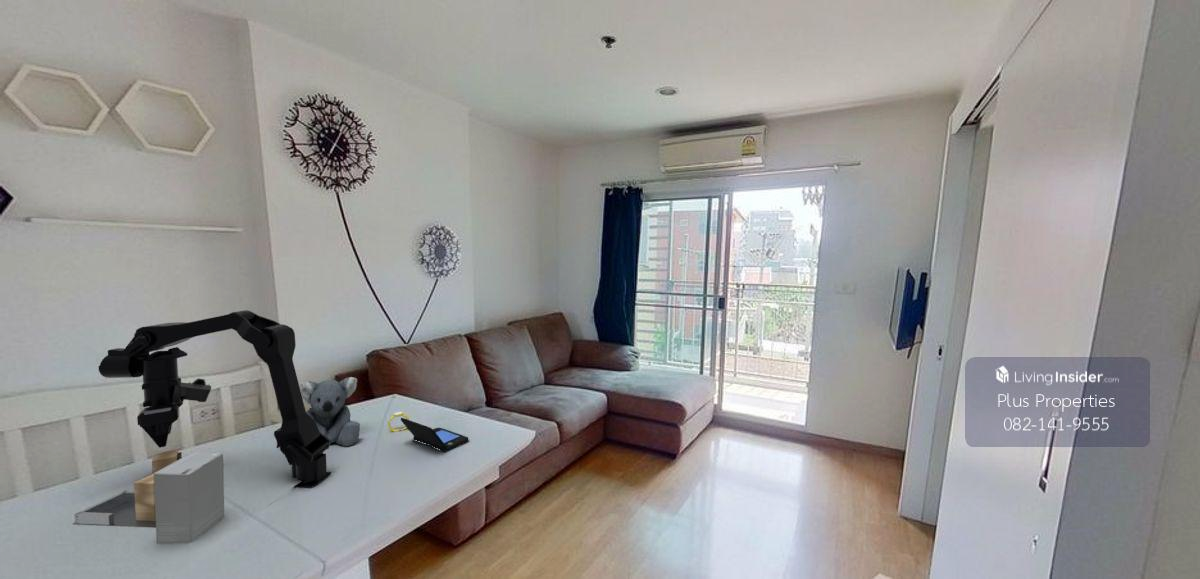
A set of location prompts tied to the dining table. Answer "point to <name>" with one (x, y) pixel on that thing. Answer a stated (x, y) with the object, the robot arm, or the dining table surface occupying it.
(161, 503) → the skincare box
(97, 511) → the rail
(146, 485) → the block
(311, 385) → the koala plush
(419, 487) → the dining table surface
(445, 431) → the game console
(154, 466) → the block
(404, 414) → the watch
